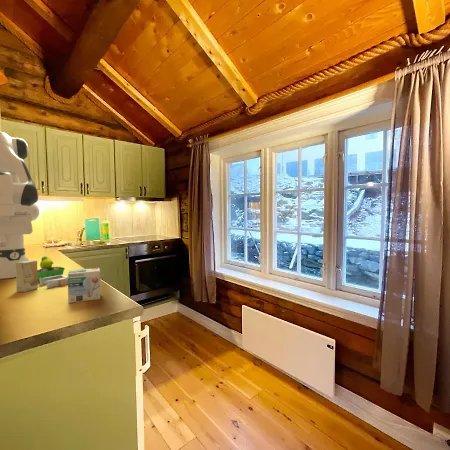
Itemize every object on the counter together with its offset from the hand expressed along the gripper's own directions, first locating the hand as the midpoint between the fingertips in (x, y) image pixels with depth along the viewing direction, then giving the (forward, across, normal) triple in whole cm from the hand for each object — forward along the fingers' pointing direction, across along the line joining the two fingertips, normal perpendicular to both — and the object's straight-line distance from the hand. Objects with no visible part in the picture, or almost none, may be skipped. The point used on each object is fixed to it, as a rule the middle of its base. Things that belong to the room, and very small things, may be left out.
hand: (1, 247), depth 102 cm
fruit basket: (+19, -21, -13) cm, 31 cm away
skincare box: (+19, -8, 0) cm, 21 cm away
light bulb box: (+19, -16, +32) cm, 41 cm away
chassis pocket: (+19, -21, 0) cm, 28 cm away
